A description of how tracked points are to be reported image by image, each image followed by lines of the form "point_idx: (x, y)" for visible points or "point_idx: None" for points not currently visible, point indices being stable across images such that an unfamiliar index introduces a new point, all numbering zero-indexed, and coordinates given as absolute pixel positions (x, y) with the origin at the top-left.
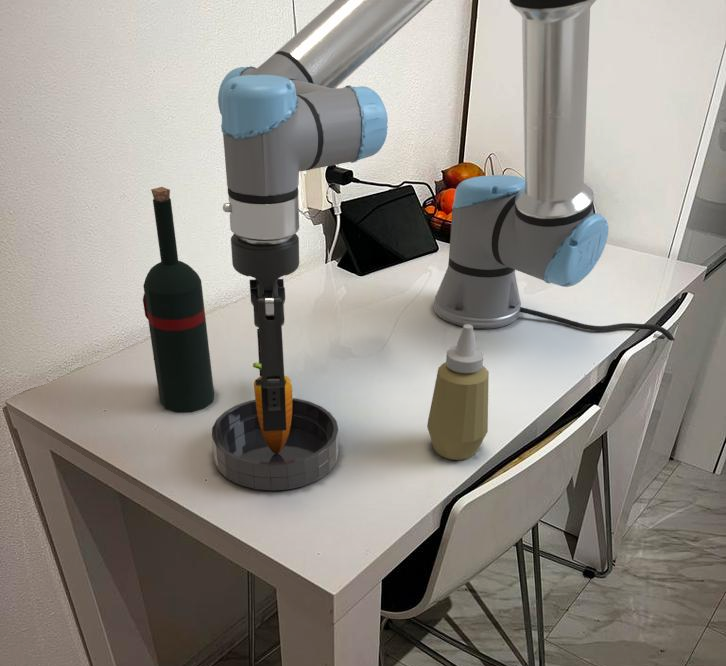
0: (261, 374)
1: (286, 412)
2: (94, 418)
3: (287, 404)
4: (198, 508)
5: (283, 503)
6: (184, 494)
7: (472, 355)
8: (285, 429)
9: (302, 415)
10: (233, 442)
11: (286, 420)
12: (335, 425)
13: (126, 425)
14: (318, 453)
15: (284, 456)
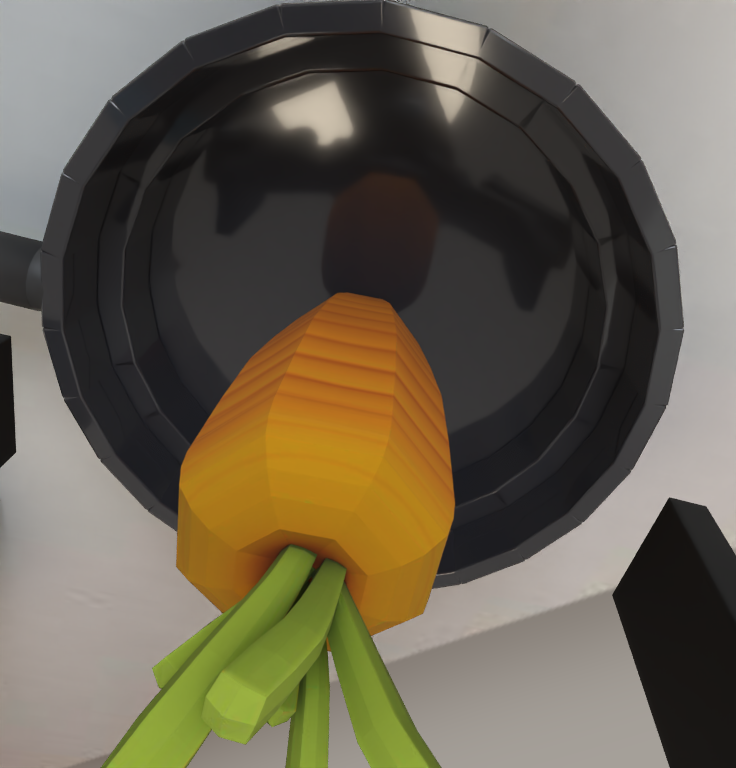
0: (8, 450)
1: (429, 399)
2: (19, 703)
3: (424, 418)
4: (558, 595)
5: (681, 375)
6: (472, 609)
7: None
8: (703, 512)
9: (159, 140)
10: None
11: (425, 372)
12: (436, 28)
13: (65, 653)
14: (667, 238)
15: (396, 287)
